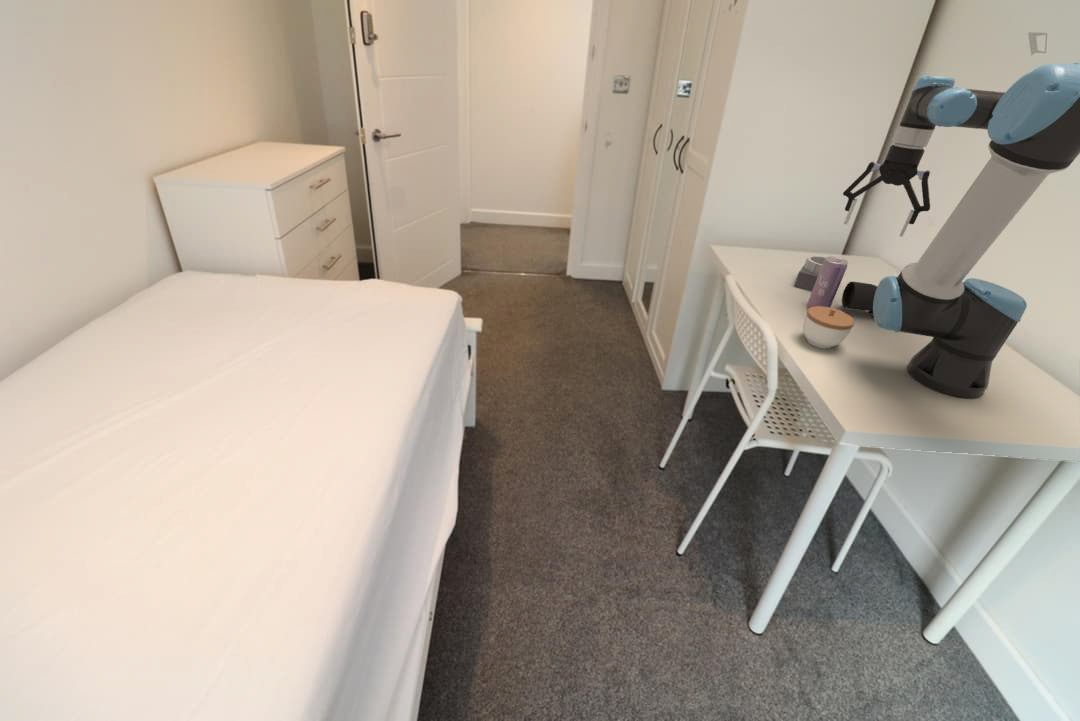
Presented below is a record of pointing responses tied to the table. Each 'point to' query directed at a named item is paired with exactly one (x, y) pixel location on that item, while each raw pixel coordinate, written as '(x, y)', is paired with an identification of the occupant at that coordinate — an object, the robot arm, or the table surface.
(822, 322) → the lidded jar
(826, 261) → the beverage can
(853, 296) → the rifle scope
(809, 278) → the grey socket block
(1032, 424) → the table surface
